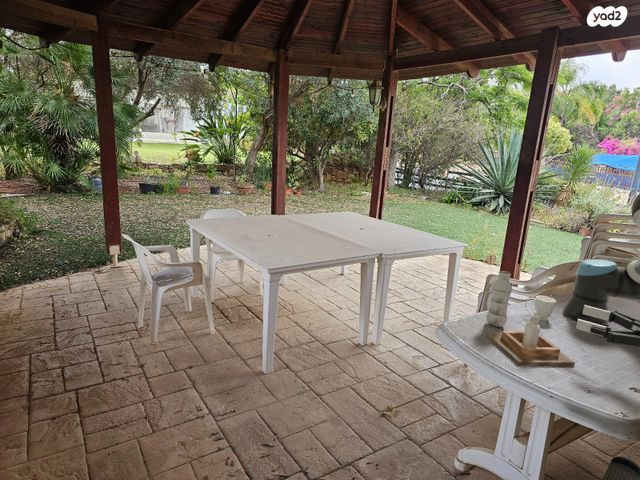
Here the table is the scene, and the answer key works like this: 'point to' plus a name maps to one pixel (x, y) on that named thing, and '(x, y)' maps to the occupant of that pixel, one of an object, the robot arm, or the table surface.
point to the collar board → (529, 350)
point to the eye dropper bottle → (531, 331)
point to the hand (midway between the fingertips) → (580, 316)
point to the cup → (543, 306)
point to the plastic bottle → (499, 300)
